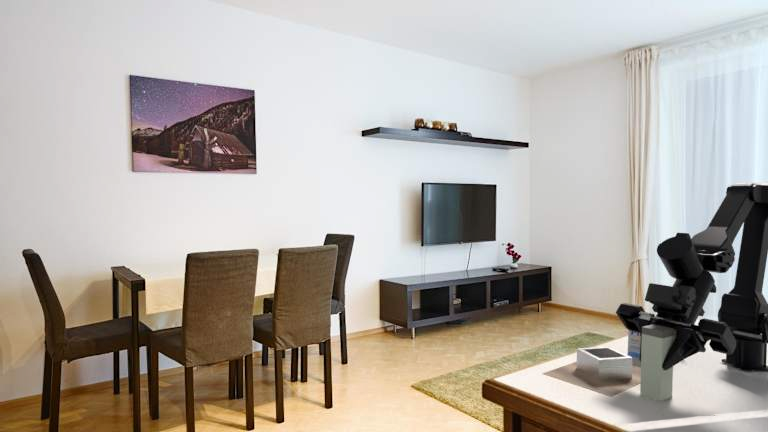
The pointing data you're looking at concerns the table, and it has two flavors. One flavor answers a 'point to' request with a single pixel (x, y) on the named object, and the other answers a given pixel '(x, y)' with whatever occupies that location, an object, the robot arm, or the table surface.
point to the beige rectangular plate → (586, 381)
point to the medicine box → (634, 343)
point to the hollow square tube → (604, 363)
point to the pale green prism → (656, 362)
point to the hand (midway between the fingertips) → (652, 365)
